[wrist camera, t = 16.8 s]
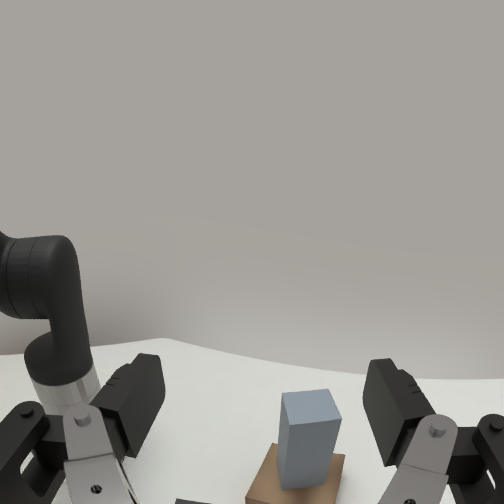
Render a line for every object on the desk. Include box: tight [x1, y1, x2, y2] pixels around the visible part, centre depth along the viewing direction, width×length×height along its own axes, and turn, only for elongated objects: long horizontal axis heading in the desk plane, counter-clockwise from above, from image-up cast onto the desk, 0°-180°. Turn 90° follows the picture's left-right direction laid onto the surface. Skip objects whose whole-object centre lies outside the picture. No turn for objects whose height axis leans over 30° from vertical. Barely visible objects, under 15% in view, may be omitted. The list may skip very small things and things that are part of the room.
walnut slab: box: [245, 443, 345, 504], centre depth 29 cm, size 10×10×5 cm
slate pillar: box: [276, 389, 342, 490], centre depth 28 cm, size 5×5×12 cm
